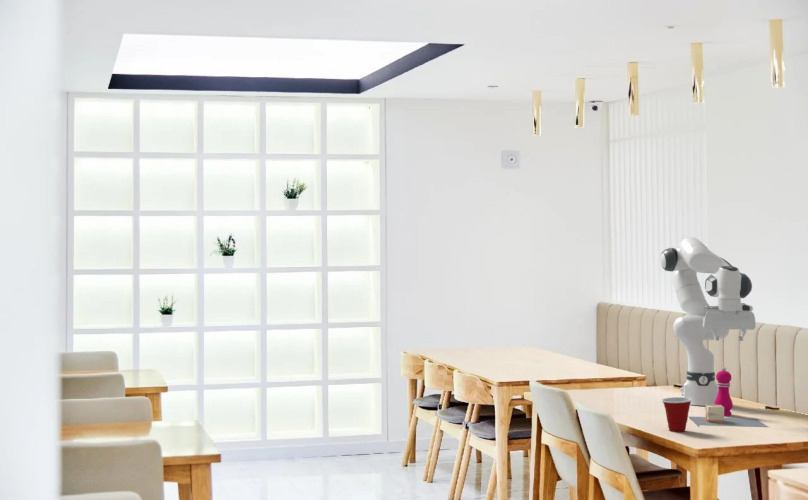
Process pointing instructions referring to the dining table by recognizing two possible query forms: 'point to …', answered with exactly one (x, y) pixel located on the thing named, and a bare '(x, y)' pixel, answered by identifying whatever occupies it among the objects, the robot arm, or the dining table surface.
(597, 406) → the dining table surface
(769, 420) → the dining table surface
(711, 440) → the dining table surface
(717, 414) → the maple cube
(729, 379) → the pepper mill
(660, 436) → the dining table surface
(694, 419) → the slate mat
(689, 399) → the plastic cup
